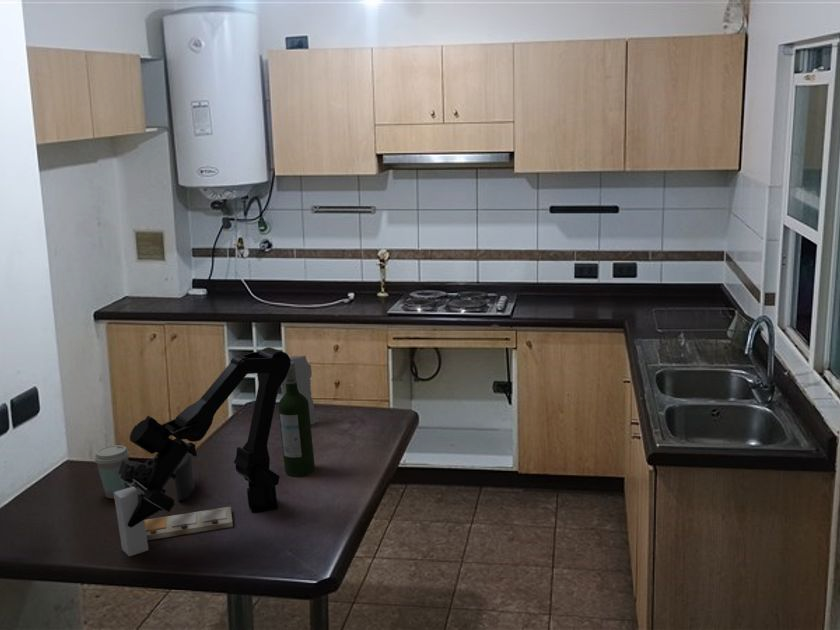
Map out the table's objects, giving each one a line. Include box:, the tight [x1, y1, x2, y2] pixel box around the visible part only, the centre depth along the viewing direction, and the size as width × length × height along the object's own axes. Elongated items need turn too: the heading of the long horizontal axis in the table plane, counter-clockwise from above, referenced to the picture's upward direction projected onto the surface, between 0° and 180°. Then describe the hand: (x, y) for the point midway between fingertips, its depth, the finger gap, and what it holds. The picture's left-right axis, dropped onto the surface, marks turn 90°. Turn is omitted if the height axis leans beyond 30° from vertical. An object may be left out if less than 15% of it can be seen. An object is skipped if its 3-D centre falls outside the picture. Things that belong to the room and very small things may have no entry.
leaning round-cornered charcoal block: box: [174, 453, 196, 502], centre depth 251 cm, size 16×5×9 cm, turn 15°
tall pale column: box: [280, 355, 316, 426], centre depth 291 cm, size 11×4×22 cm, turn 118°
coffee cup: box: [94, 444, 130, 500], centre depth 251 cm, size 9×9×12 cm
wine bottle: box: [277, 361, 316, 477], centre depth 256 cm, size 8×8×30 cm
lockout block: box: [114, 487, 149, 557], centre depth 219 cm, size 4×4×14 cm
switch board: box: [144, 506, 234, 541], centre depth 231 cm, size 22×9×2 cm, turn 103°
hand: (125, 522), depth 218 cm, fingers open, 5 cm apart
